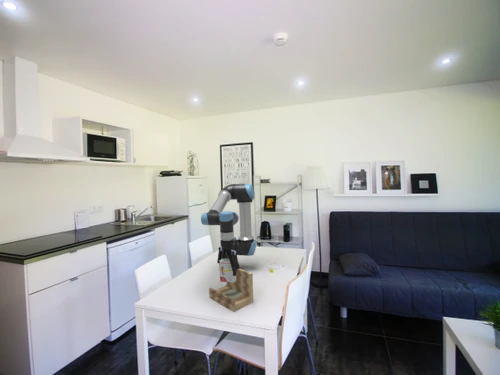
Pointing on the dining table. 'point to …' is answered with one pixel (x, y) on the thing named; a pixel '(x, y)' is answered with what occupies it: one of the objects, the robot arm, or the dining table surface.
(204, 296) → the dining table surface
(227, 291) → the wooden holder
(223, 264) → the ink box
